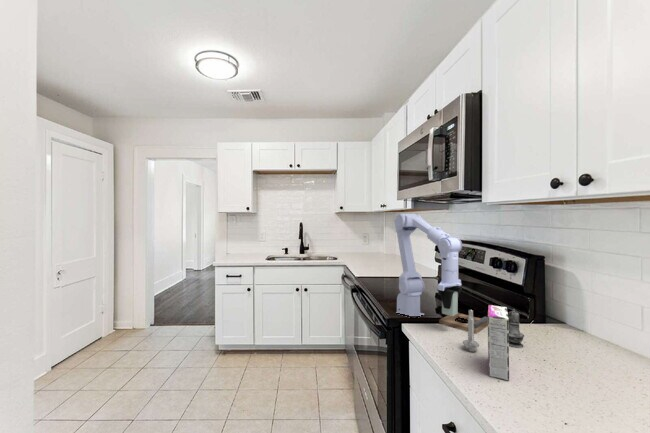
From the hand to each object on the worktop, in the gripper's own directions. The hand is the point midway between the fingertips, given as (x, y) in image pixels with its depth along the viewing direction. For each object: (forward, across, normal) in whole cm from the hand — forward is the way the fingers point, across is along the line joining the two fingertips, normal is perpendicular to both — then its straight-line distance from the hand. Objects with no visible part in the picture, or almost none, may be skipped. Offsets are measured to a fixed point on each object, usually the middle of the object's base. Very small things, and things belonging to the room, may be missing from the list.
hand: (449, 306), depth 109 cm
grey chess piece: (+10, +6, -19) cm, 22 cm away
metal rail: (+8, +13, -6) cm, 16 cm away
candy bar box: (+10, -16, -21) cm, 28 cm away
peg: (+2, 0, 0) cm, 2 cm away
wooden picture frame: (+9, +13, 0) cm, 16 cm away
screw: (+10, -9, -11) cm, 17 cm away
